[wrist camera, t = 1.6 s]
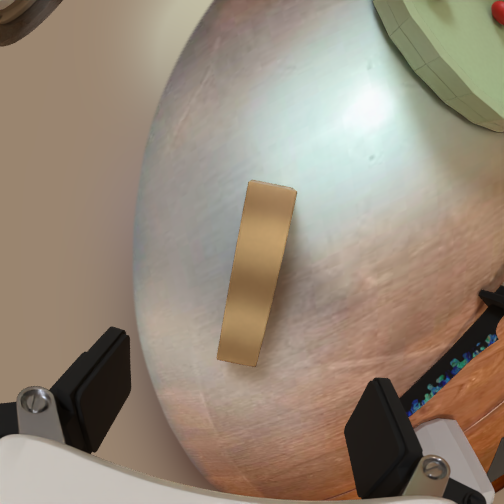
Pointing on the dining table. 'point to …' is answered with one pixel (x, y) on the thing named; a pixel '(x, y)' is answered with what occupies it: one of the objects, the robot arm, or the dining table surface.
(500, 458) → the model building
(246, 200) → the stick
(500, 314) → the knife
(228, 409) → the dining table surface
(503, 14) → the tomato
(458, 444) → the jar
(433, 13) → the shallow round dish
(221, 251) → the dining table surface
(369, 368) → the dining table surface
